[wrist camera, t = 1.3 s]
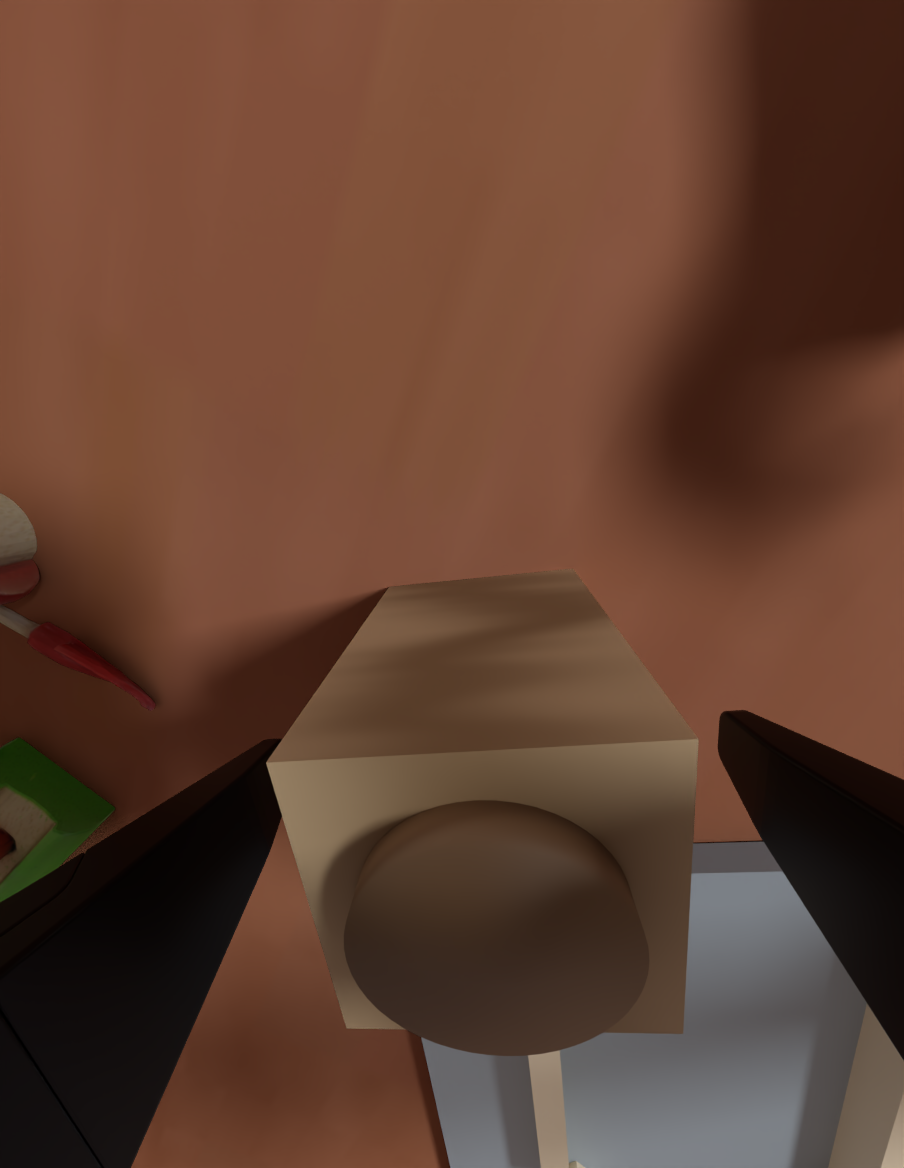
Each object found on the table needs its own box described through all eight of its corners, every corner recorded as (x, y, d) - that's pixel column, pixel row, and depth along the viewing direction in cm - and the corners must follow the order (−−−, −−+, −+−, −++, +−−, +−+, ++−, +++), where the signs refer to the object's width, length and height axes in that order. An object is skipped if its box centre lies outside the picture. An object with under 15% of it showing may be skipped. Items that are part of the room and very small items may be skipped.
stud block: (572, 568, 11) (728, 779, 4) (579, 728, 13) (703, 1094, 6) (389, 586, 12) (238, 800, 5) (416, 738, 13) (333, 1082, 6)
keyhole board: (1054, 832, 13) (1187, 922, 10) (893, 1274, 20) (947, 1384, 18) (392, 852, 15) (374, 930, 12) (476, 1245, 22) (475, 1339, 20)
